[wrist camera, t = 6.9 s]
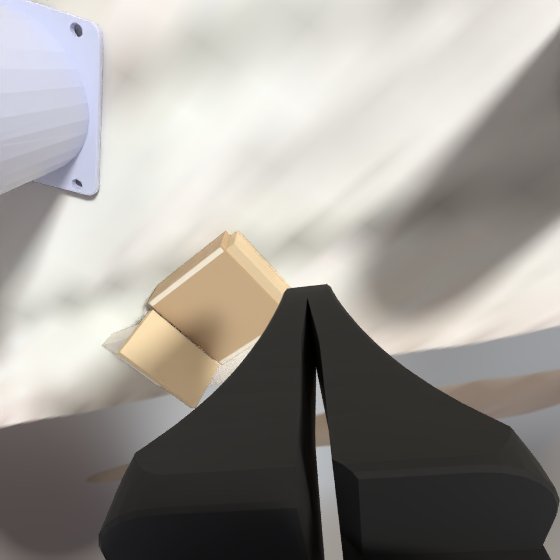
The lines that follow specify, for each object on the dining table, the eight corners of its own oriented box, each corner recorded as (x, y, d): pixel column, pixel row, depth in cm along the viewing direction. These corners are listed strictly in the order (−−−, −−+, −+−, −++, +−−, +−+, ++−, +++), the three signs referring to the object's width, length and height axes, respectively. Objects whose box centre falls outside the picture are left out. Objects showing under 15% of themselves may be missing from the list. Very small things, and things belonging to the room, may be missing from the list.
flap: (120, 352, 19) (83, 361, 23) (195, 407, 21) (149, 407, 25) (152, 309, 21) (113, 325, 25) (219, 365, 23) (172, 371, 27)
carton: (233, 225, 21) (228, 239, 19) (299, 296, 23) (301, 315, 21) (157, 285, 23) (146, 303, 21) (225, 345, 25) (221, 365, 24)
